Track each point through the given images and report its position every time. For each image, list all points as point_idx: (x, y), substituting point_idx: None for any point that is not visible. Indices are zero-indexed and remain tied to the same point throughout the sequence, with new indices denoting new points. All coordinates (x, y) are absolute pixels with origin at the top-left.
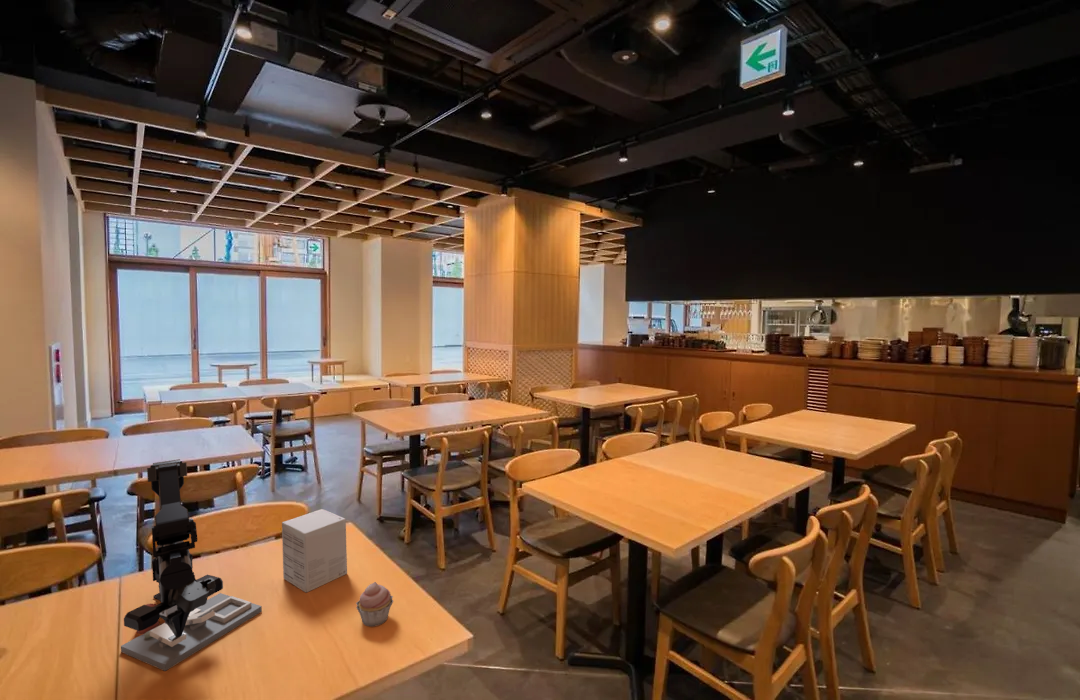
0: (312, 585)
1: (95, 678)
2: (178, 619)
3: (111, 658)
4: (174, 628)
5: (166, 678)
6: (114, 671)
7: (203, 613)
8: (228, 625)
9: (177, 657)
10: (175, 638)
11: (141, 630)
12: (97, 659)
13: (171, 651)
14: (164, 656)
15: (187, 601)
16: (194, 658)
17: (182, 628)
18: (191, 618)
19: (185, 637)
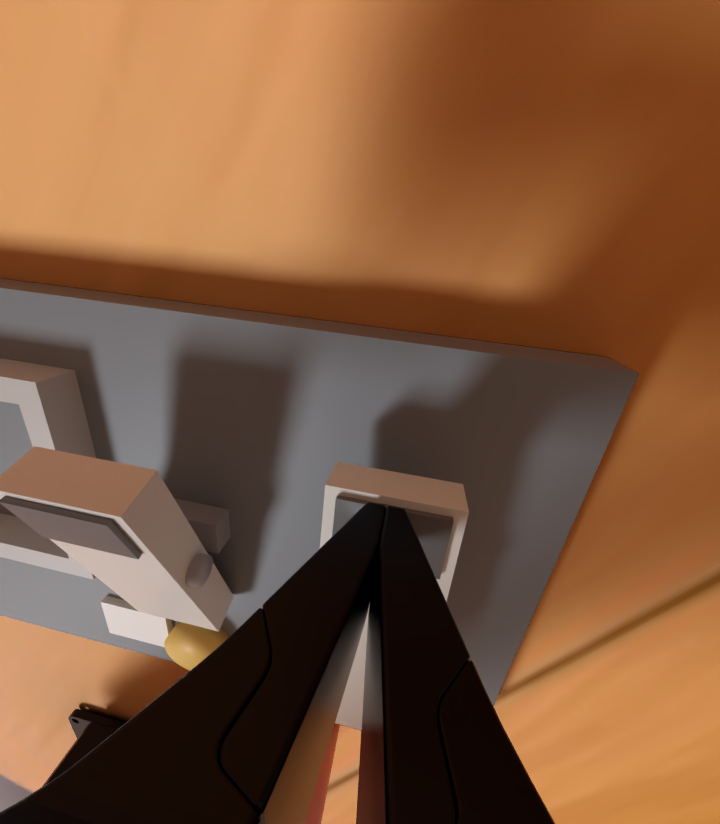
0: None
1: (695, 681)
2: (412, 794)
3: (523, 707)
4: (449, 630)
5: (708, 256)
6: (627, 640)
7: (87, 552)
8: (66, 304)
9: (516, 355)
10: (421, 519)
11: (334, 724)
12: (539, 746)
13: (461, 465)
14: (528, 466)
15: None
16: (424, 263)
17: (350, 547)
18: (174, 592)
19: (340, 469)
